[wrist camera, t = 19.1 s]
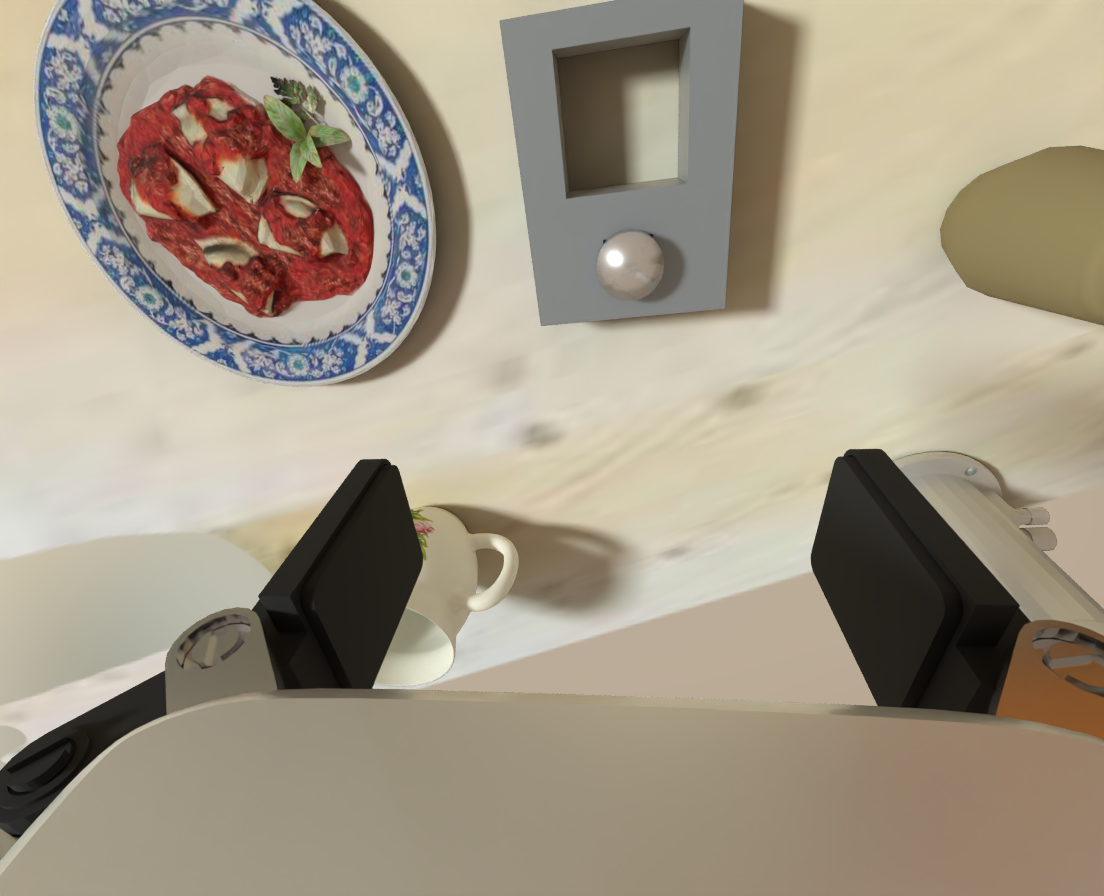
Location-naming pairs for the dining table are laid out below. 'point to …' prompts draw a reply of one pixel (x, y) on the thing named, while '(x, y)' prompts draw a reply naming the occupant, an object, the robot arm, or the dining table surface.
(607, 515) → the dining table surface
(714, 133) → the housing
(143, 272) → the ceramic plate
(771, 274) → the dining table surface
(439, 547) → the pitcher
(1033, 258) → the squeeze bottle
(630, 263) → the plunger
